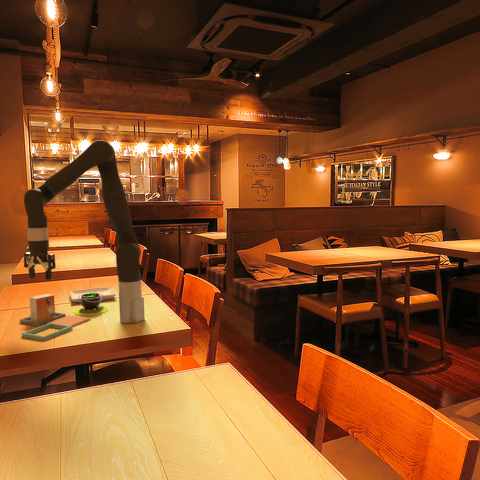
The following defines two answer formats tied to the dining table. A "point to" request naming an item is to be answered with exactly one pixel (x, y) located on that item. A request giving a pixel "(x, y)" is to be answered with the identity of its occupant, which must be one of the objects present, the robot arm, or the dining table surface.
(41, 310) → the small box
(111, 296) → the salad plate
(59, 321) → the terracotta tile
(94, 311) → the toy cauldron
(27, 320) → the grey rectangular frame
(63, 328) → the green rectangular frame
